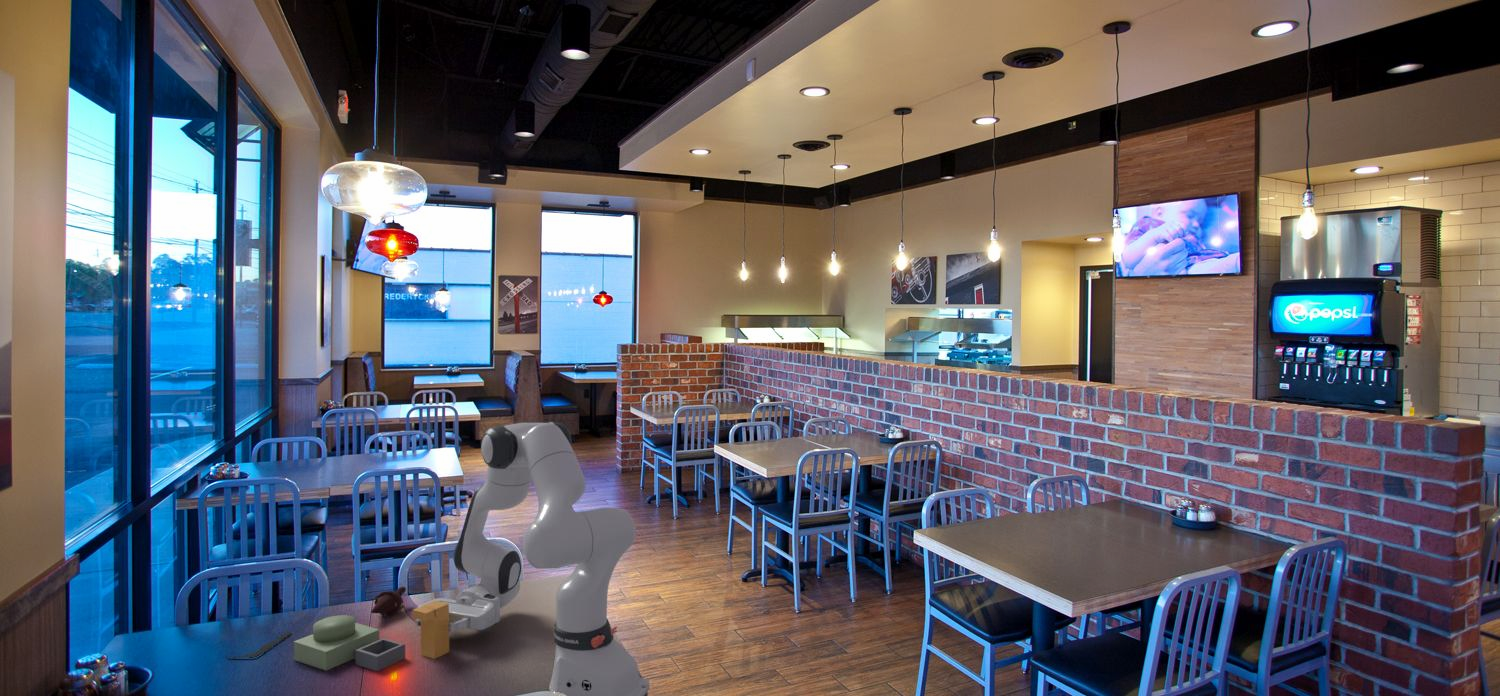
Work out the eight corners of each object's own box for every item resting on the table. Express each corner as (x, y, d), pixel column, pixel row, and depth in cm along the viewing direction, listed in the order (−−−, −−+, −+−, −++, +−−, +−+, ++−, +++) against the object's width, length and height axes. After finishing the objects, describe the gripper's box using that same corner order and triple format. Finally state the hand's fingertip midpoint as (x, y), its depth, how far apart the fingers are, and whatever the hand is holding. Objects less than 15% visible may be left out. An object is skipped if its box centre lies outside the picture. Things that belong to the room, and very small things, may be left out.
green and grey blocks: (409, 656, 185) (409, 625, 184) (356, 681, 172) (356, 648, 172) (348, 637, 195) (347, 608, 195) (294, 659, 182) (293, 629, 182)
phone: (293, 631, 198) (255, 657, 183) (293, 635, 198) (255, 660, 183) (265, 631, 198) (224, 657, 183) (265, 634, 198) (225, 660, 183)
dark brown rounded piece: (388, 603, 202) (418, 587, 217) (362, 594, 202) (394, 580, 217) (381, 628, 202) (411, 611, 216) (355, 620, 202) (387, 603, 217)
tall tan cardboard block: (449, 651, 187) (448, 603, 187) (426, 662, 181) (425, 613, 181) (436, 647, 189) (435, 600, 189) (413, 658, 183) (412, 609, 183)
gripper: (439, 588, 202) (399, 607, 189) (504, 598, 195) (468, 618, 182) (439, 612, 202) (400, 632, 189) (504, 622, 195) (468, 644, 182)
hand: (434, 626), depth 186 cm, fingers open, 8 cm apart
